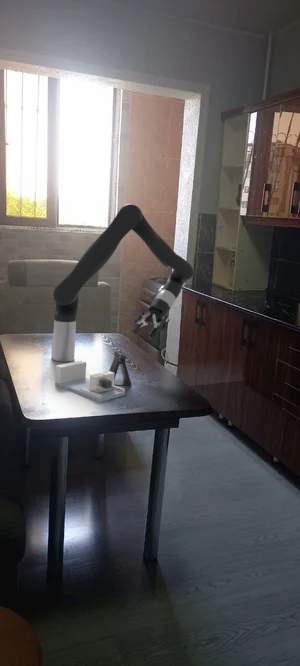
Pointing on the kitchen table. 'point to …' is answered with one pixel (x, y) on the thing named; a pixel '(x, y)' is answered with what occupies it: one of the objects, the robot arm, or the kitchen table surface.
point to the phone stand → (114, 368)
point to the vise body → (82, 382)
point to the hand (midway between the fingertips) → (142, 335)
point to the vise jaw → (102, 382)
